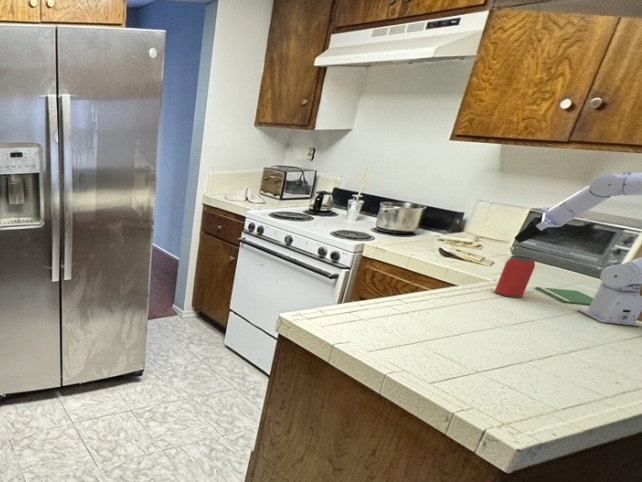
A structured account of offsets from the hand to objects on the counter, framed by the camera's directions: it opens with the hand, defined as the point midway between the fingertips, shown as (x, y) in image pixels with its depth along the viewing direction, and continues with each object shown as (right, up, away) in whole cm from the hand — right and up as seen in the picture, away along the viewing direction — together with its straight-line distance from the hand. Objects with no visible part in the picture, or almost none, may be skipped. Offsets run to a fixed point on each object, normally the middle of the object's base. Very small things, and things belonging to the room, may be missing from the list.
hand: (522, 236), depth 147 cm
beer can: (-4, -18, +1) cm, 19 cm away
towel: (+15, -19, 0) cm, 24 cm away
